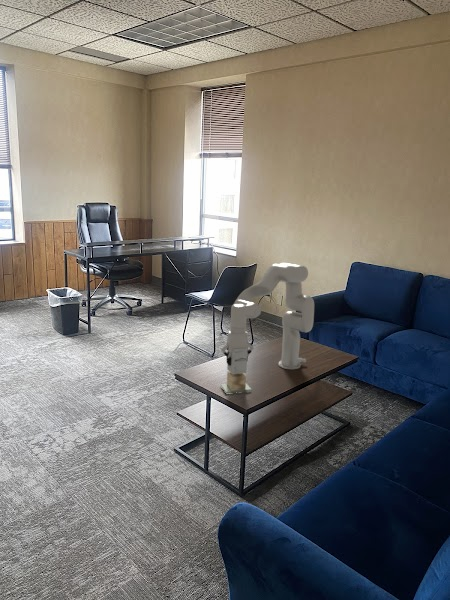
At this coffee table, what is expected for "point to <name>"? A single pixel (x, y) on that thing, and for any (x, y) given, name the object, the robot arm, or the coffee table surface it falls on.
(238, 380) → the beech block
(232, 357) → the supplement box
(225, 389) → the sage board
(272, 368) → the coffee table surface
